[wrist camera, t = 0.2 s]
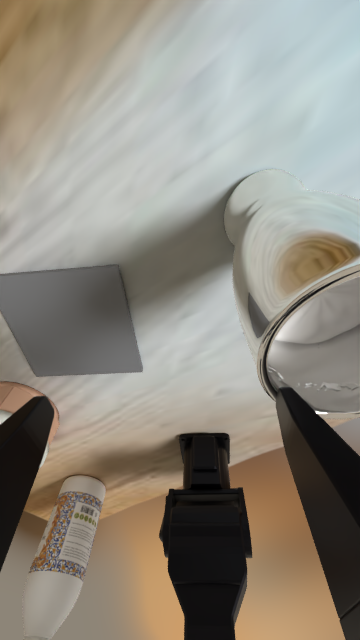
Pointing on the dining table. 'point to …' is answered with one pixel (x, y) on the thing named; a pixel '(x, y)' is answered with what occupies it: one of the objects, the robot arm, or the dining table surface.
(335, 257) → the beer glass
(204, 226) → the dining table surface
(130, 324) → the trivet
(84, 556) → the bath foam
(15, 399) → the bowl
